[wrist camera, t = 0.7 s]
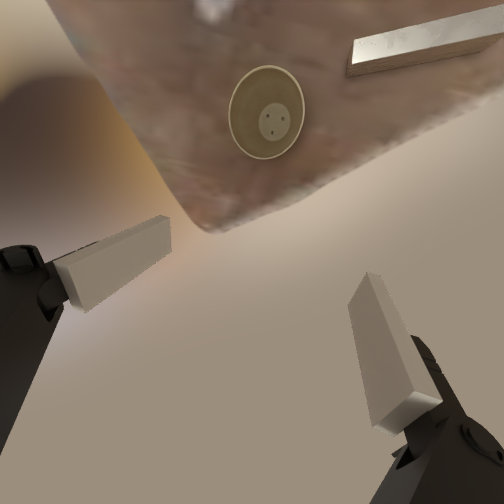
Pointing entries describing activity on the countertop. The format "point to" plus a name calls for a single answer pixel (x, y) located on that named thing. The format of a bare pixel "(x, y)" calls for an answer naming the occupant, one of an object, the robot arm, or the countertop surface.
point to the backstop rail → (427, 42)
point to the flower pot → (266, 112)
